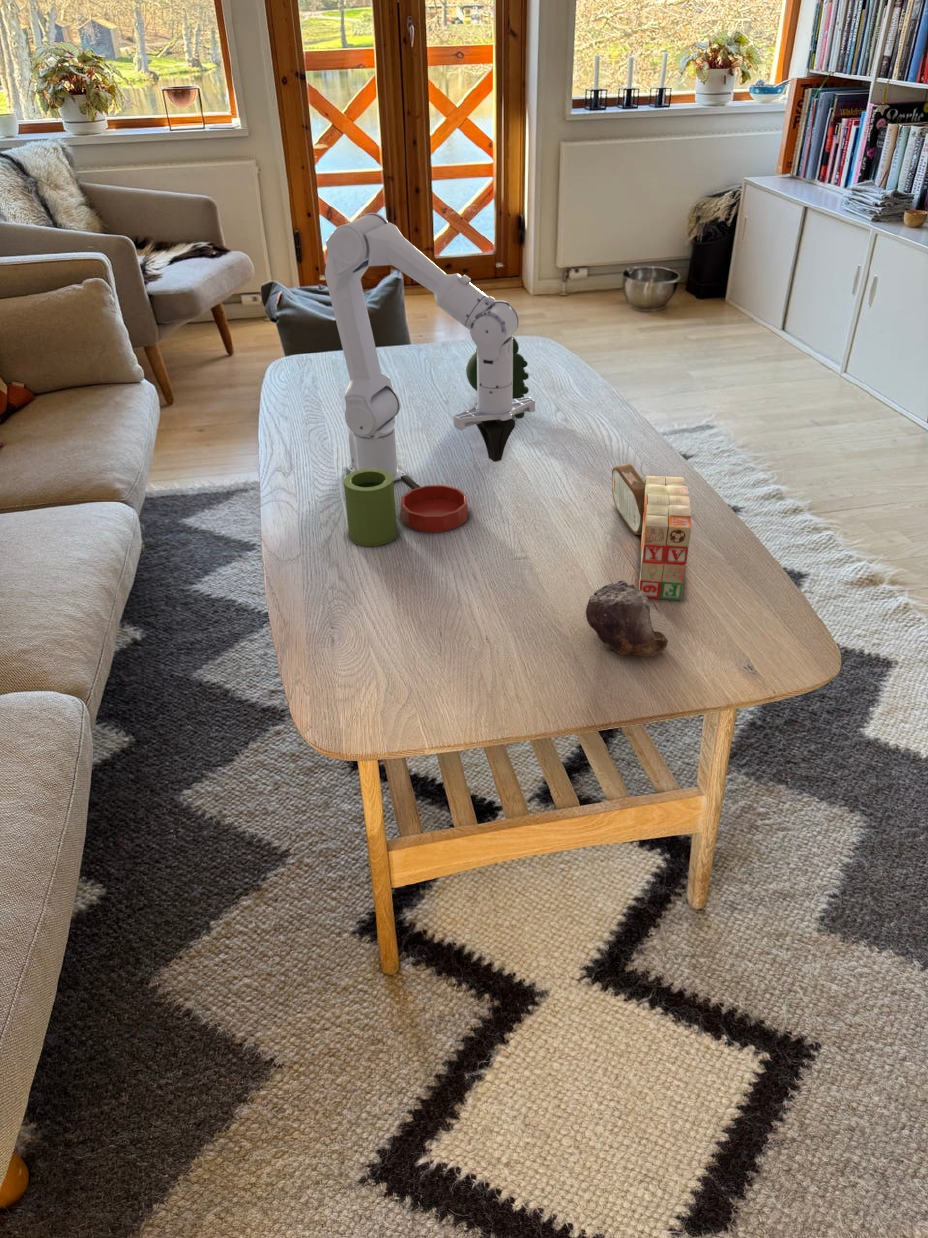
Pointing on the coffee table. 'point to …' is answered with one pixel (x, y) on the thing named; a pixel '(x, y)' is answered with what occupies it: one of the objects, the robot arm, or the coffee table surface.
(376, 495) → the crock
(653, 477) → the stack of blocks
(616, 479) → the tin
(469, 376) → the toy figurine
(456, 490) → the pan
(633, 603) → the rock
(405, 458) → the coffee table surface
